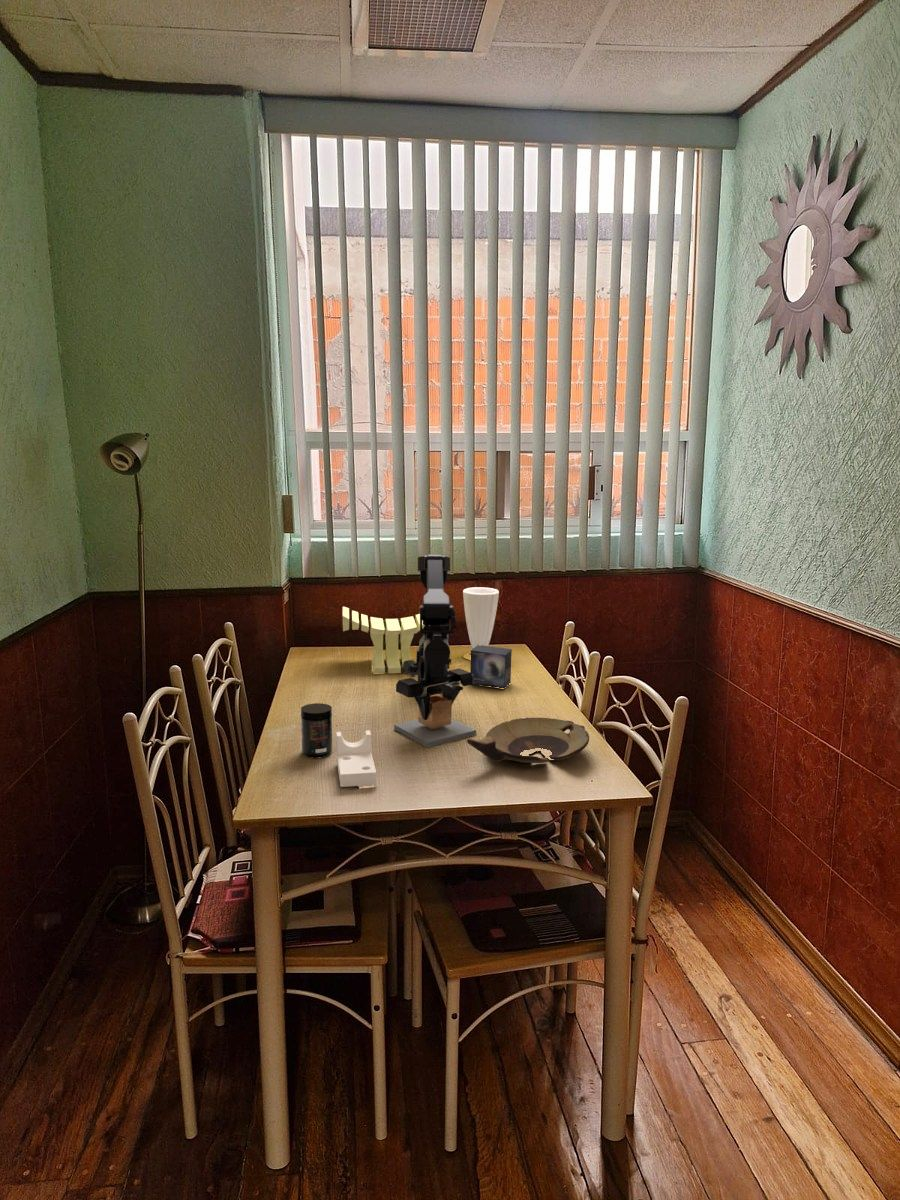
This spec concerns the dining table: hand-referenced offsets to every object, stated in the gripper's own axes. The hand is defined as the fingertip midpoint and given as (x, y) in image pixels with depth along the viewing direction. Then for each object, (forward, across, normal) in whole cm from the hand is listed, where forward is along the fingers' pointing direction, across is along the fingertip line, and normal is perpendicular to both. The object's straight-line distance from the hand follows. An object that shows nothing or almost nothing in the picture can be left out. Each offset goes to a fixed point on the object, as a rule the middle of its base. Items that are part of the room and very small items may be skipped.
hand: (434, 717), depth 192 cm
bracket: (+4, +28, +11) cm, 30 cm away
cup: (+4, -51, -47) cm, 69 cm away
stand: (+4, 0, 0) cm, 4 cm away
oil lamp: (+4, -8, +23) cm, 25 cm away
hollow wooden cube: (+2, 0, 0) cm, 2 cm away
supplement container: (+4, +29, -4) cm, 30 cm away
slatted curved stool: (+4, -22, -53) cm, 58 cm away
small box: (+4, -35, -22) cm, 41 cm away
